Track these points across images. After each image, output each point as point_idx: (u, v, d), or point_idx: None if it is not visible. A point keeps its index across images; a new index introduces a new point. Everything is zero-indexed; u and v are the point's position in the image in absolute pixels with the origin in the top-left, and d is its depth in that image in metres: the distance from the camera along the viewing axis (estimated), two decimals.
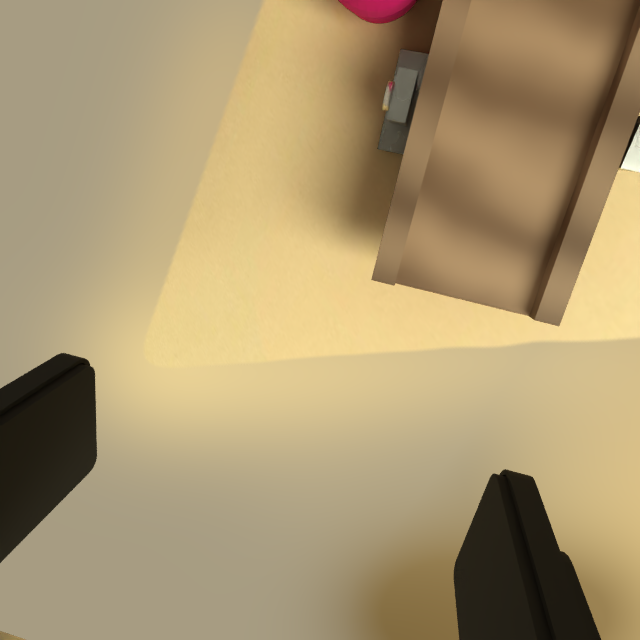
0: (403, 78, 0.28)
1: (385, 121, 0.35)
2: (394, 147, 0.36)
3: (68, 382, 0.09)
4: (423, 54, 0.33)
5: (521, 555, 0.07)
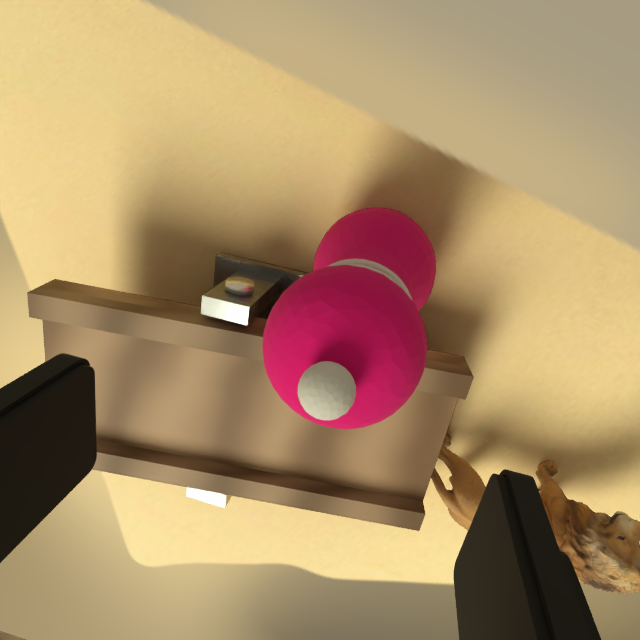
0: (239, 311, 0.27)
1: (242, 262, 0.33)
2: (219, 273, 0.33)
3: (68, 382, 0.09)
4: None
5: (521, 555, 0.07)
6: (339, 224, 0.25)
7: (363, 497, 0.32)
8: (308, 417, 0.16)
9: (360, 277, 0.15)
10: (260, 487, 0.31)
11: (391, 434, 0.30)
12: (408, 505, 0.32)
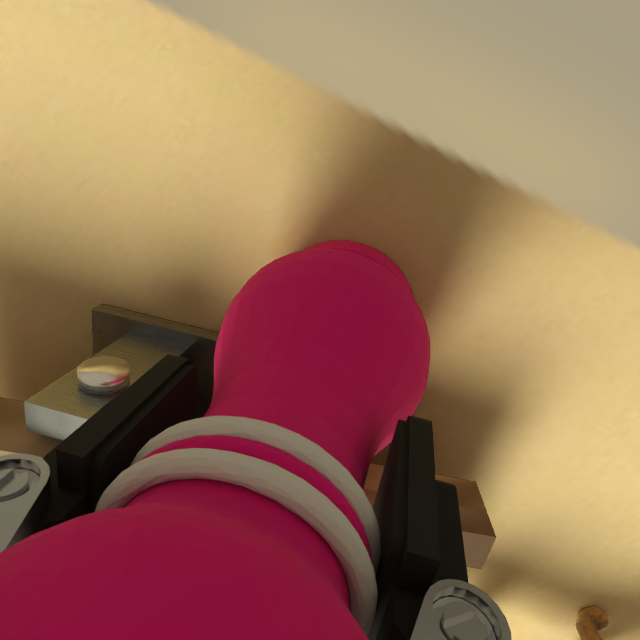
0: None
1: (132, 321, 0.21)
2: (99, 336, 0.22)
3: (181, 381, 0.10)
4: None
5: (401, 477, 0.08)
6: (255, 282, 0.14)
7: None
8: None
9: None
10: None
11: None
12: None
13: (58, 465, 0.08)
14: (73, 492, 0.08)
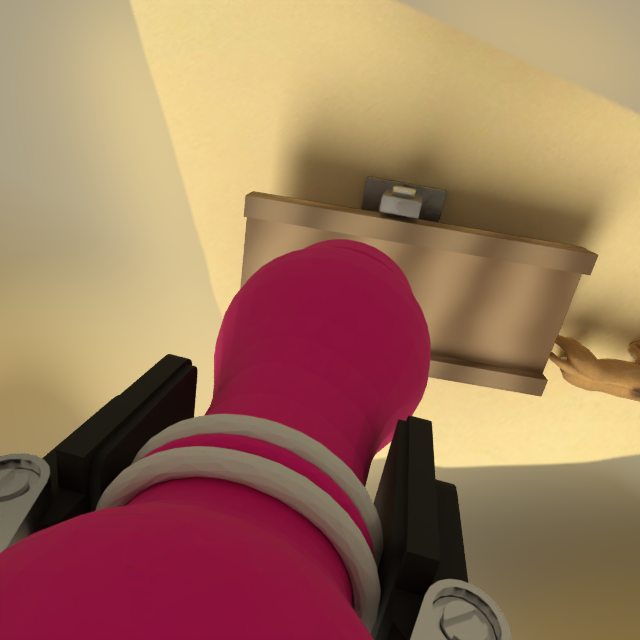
0: (412, 206, 0.34)
1: (389, 182, 0.40)
2: (368, 192, 0.41)
3: (181, 381, 0.10)
4: (440, 210, 0.40)
5: (401, 477, 0.08)
6: (255, 280, 0.14)
7: (495, 369, 0.39)
8: None
9: None
10: None
11: (521, 313, 0.38)
12: (532, 375, 0.39)
13: (58, 465, 0.08)
14: (73, 492, 0.08)
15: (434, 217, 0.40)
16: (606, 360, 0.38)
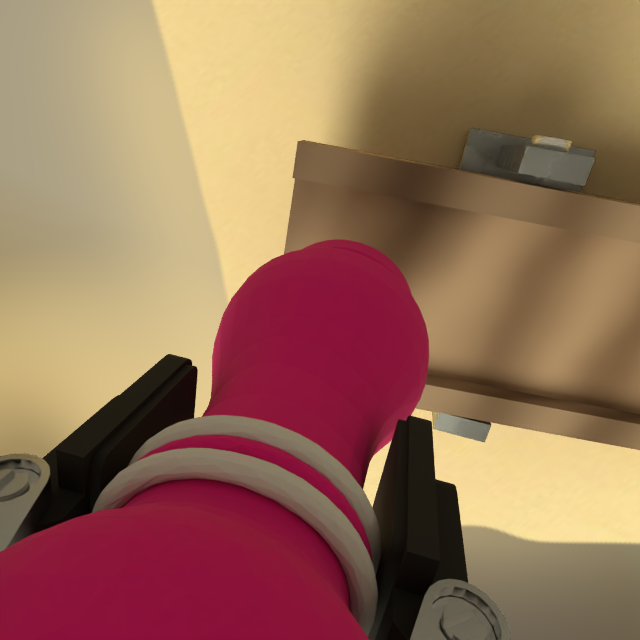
0: (578, 165, 0.20)
1: (506, 136, 0.26)
2: (470, 152, 0.27)
3: (181, 381, 0.10)
4: None
5: (401, 477, 0.08)
6: (254, 281, 0.14)
7: None
8: None
9: None
10: (543, 412, 0.25)
11: None
12: None
13: (58, 465, 0.08)
14: (73, 492, 0.08)
15: None
16: None
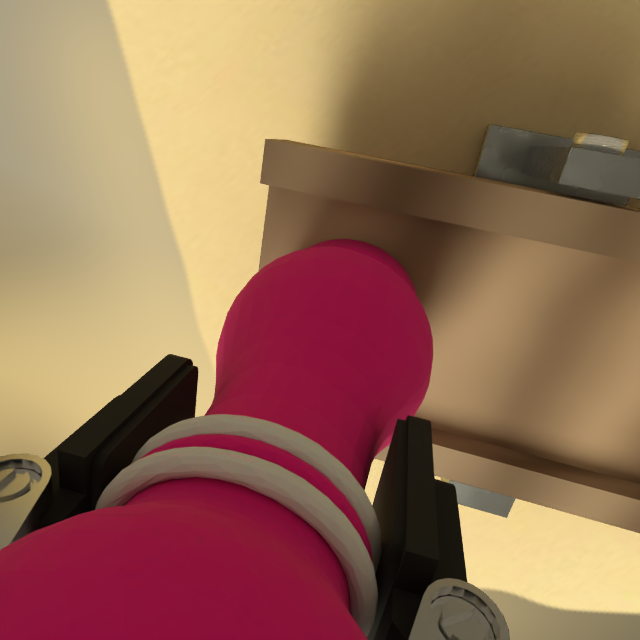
0: None
1: (534, 135, 0.21)
2: (489, 155, 0.22)
3: (182, 381, 0.10)
4: None
5: (400, 476, 0.08)
6: (258, 280, 0.14)
7: None
8: None
9: None
10: (578, 491, 0.19)
11: None
12: None
13: (59, 465, 0.08)
14: (74, 492, 0.08)
15: None
16: None
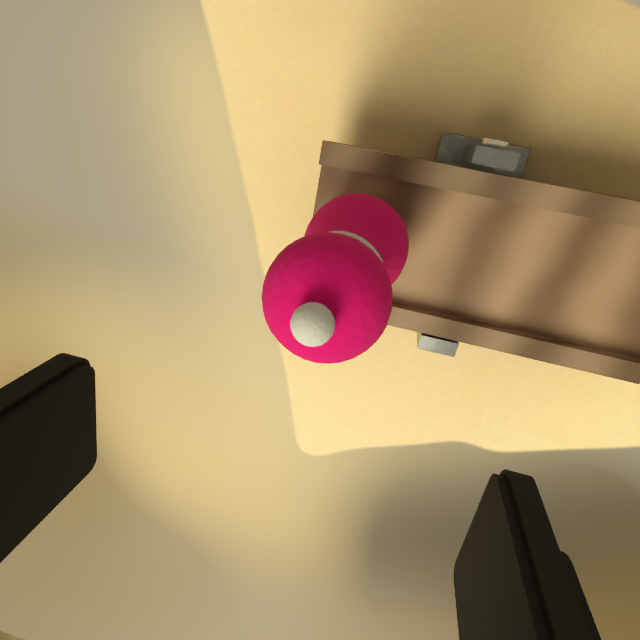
0: (510, 158, 0.31)
1: (468, 138, 0.37)
2: (443, 150, 0.37)
3: (68, 382, 0.09)
4: (522, 170, 0.37)
5: (521, 555, 0.07)
6: (325, 207, 0.30)
7: (586, 349, 0.35)
8: (299, 352, 0.20)
9: (339, 239, 0.19)
10: (490, 334, 0.35)
11: (622, 286, 0.33)
12: (630, 359, 0.34)
13: None
14: None
15: None
16: None
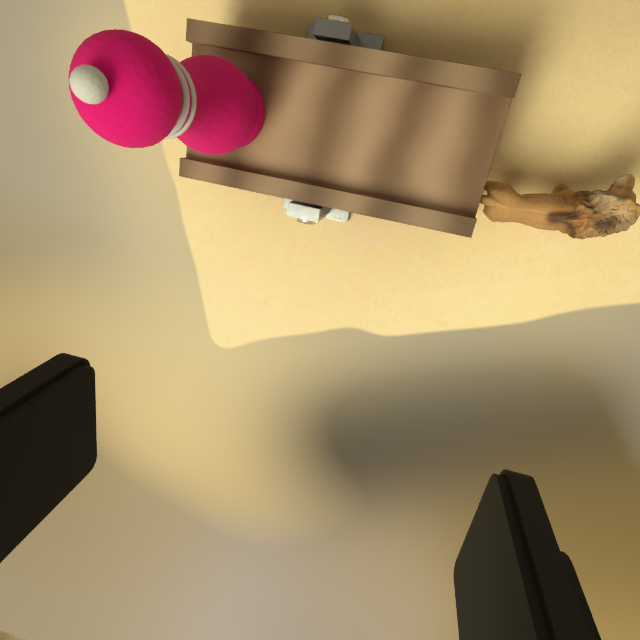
0: (343, 27, 0.36)
1: None
2: None
3: (68, 382, 0.09)
4: None
5: (521, 555, 0.07)
6: None
7: (425, 208, 0.39)
8: (97, 127, 0.25)
9: (123, 30, 0.24)
10: (343, 196, 0.40)
11: (451, 147, 0.38)
12: (463, 215, 0.39)
13: None
14: None
15: None
16: (525, 194, 0.40)
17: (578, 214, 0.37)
